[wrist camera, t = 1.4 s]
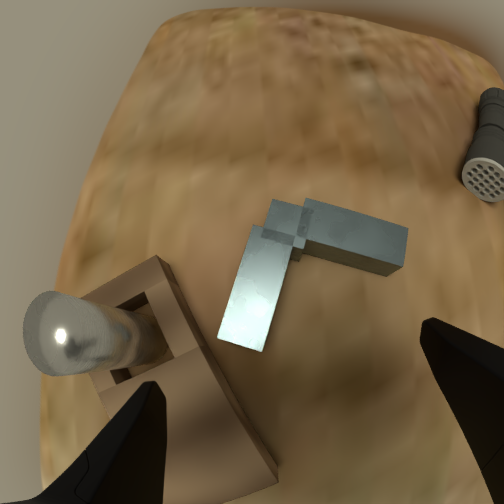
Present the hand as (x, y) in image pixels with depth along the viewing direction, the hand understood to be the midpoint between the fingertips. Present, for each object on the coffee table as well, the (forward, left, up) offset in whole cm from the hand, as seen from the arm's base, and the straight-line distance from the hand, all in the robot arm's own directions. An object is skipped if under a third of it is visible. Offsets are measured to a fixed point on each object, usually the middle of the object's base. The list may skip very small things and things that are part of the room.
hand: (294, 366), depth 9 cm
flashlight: (+17, -26, -14) cm, 34 cm away
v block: (+6, -2, -14) cm, 15 cm away
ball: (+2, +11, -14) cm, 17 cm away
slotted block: (-3, +9, -14) cm, 17 cm away
